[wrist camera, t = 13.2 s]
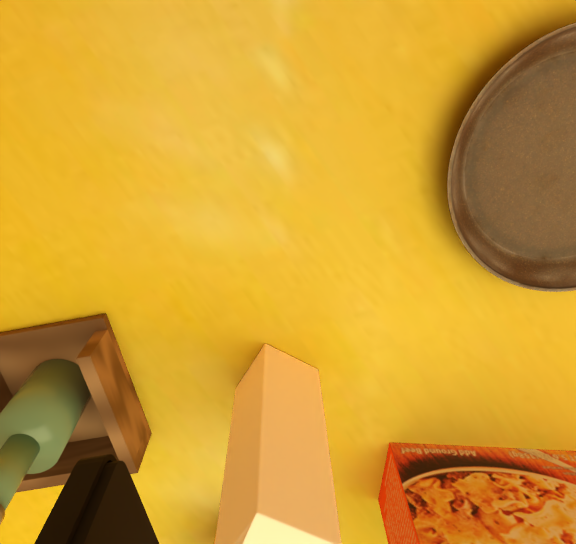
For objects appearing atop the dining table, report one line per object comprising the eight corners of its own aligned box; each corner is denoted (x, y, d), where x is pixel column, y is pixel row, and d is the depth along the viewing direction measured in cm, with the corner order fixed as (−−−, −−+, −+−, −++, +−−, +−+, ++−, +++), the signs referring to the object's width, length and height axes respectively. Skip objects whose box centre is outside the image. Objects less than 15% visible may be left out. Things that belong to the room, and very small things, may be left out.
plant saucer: (436, 290, 44) (448, 306, 41) (435, 39, 36) (450, 37, 33) (667, 262, 43) (697, 277, 40) (719, 1, 35) (761, -5, 32)
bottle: (19, 366, 45) (-91, 501, 31) (79, 352, 44) (-6, 483, 30) (46, 415, 47) (-46, 560, 33) (102, 402, 47) (34, 544, 33)
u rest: (-24, 336, 44) (-60, 369, 40) (106, 313, 44) (84, 343, 39) (35, 452, 50) (9, 493, 45) (151, 433, 49) (137, 472, 44)
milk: (265, 342, 45) (253, 561, 25) (319, 369, 46) (352, 599, 26) (234, 389, 47) (200, 628, 27) (288, 413, 48) (294, 660, 28)
